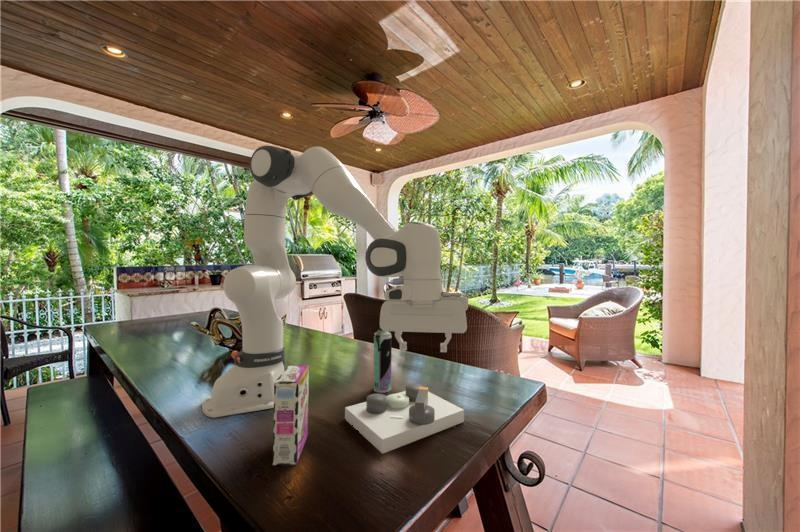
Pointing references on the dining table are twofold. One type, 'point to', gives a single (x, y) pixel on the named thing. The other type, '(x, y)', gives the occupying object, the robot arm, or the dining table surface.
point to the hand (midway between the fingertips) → (423, 350)
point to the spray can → (382, 361)
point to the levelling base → (399, 418)
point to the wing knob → (422, 409)
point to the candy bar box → (290, 415)
